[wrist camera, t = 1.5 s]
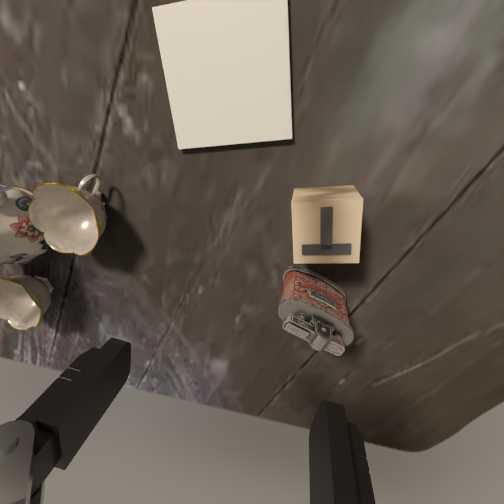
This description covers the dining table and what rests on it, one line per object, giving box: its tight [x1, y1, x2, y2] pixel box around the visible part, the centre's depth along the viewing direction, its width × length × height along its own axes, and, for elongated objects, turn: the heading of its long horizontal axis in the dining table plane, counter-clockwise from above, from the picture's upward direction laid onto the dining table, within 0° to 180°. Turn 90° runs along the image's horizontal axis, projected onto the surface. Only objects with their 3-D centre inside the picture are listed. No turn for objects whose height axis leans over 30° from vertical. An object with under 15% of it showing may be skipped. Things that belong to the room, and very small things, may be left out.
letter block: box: [291, 185, 363, 264], centre depth 28 cm, size 6×6×6 cm
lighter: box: [278, 266, 354, 356], centre depth 30 cm, size 8×3×10 cm, turn 65°
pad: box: [152, 0, 293, 149], centre depth 27 cm, size 12×12×1 cm
